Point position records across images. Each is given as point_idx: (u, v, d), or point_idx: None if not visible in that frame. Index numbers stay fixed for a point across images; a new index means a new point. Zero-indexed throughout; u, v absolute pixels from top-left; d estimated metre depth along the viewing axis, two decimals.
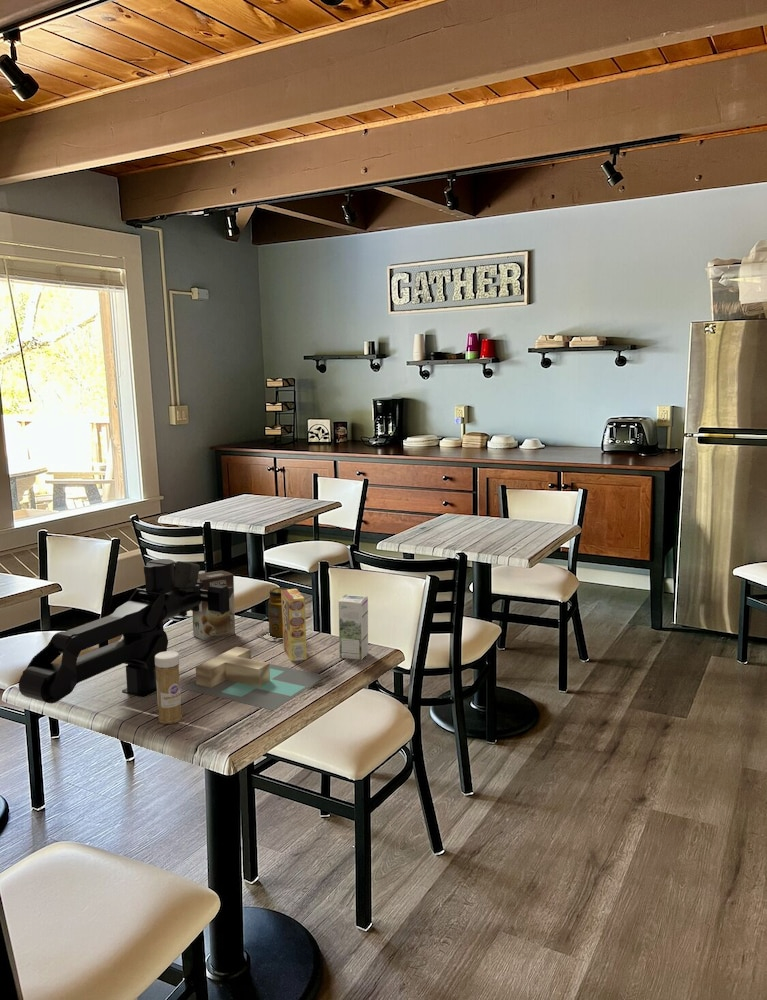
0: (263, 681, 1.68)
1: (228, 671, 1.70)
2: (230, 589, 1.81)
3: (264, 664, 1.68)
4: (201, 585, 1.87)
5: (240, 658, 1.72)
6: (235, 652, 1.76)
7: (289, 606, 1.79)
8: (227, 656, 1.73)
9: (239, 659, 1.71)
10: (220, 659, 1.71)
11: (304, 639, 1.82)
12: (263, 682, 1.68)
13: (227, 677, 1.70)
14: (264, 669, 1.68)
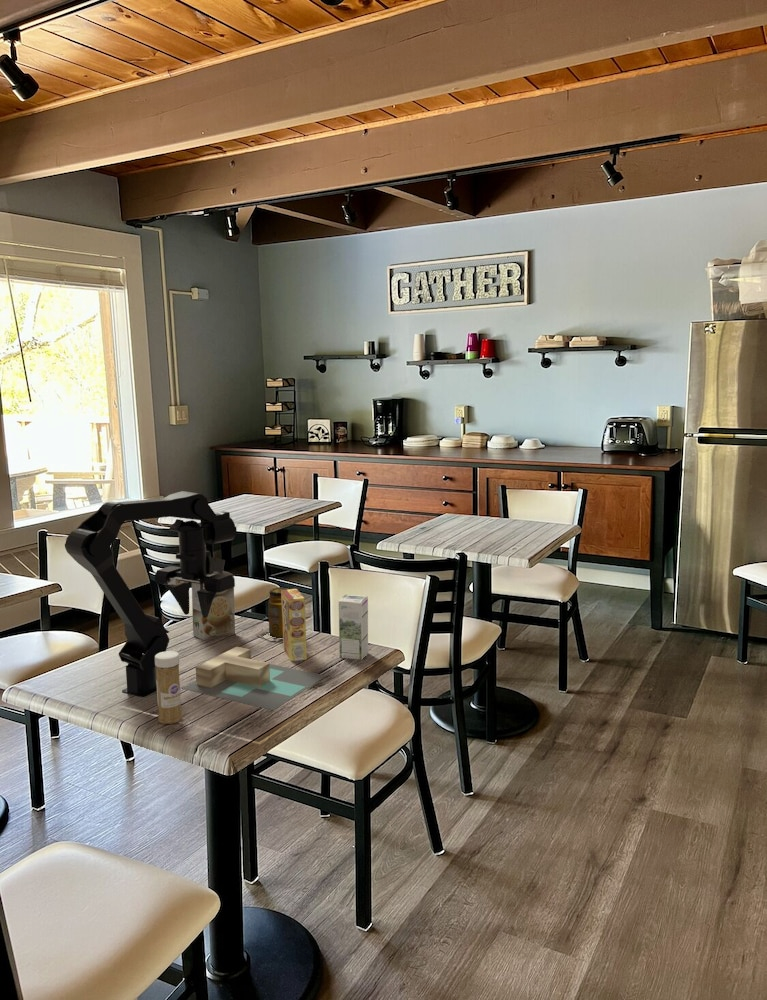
0: (263, 681, 1.68)
1: (228, 671, 1.70)
2: (209, 609, 1.73)
3: (264, 664, 1.68)
4: (187, 611, 1.76)
5: (240, 658, 1.72)
6: (235, 652, 1.76)
7: (289, 606, 1.79)
8: (227, 656, 1.73)
9: (239, 659, 1.71)
10: (220, 659, 1.71)
11: (304, 639, 1.82)
12: (263, 682, 1.68)
13: (227, 677, 1.70)
14: (264, 669, 1.68)
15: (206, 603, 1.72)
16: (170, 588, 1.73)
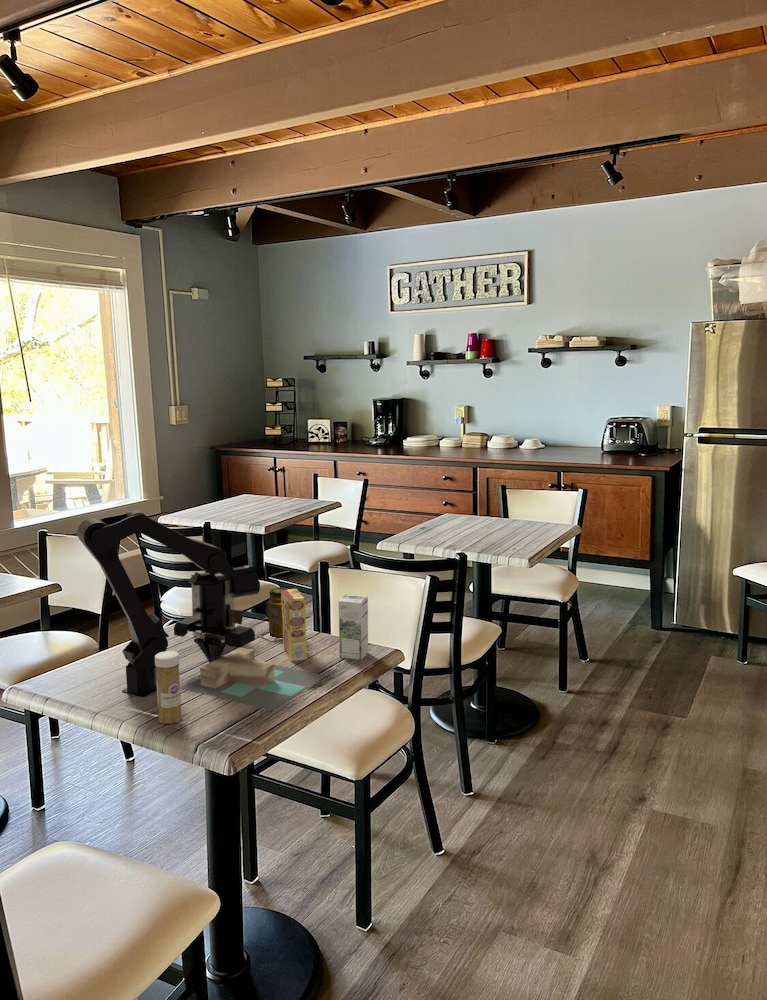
0: (268, 682, 1.67)
1: (233, 672, 1.69)
2: None
3: (269, 665, 1.68)
4: None
5: (244, 659, 1.72)
6: (239, 652, 1.76)
7: (289, 606, 1.79)
8: (231, 657, 1.73)
9: (244, 660, 1.71)
10: (225, 660, 1.71)
11: (304, 639, 1.82)
12: (268, 683, 1.67)
13: (231, 678, 1.70)
14: (268, 670, 1.67)
15: (217, 654, 1.72)
16: (198, 643, 1.72)
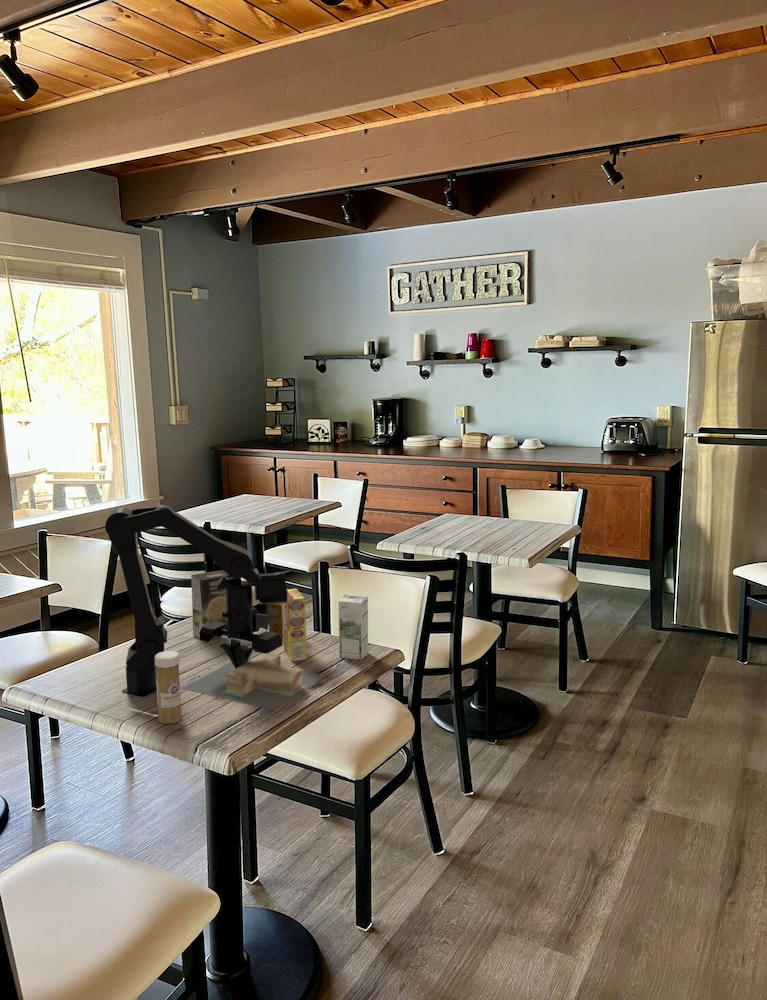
0: (295, 688, 1.64)
1: (259, 678, 1.66)
2: None
3: (297, 671, 1.64)
4: None
5: (271, 665, 1.68)
6: (265, 658, 1.72)
7: (289, 606, 1.79)
8: (257, 663, 1.69)
9: (270, 666, 1.67)
10: (251, 666, 1.67)
11: (304, 639, 1.82)
12: (295, 689, 1.64)
13: (258, 684, 1.66)
14: (296, 676, 1.64)
15: (243, 660, 1.69)
16: (225, 648, 1.68)
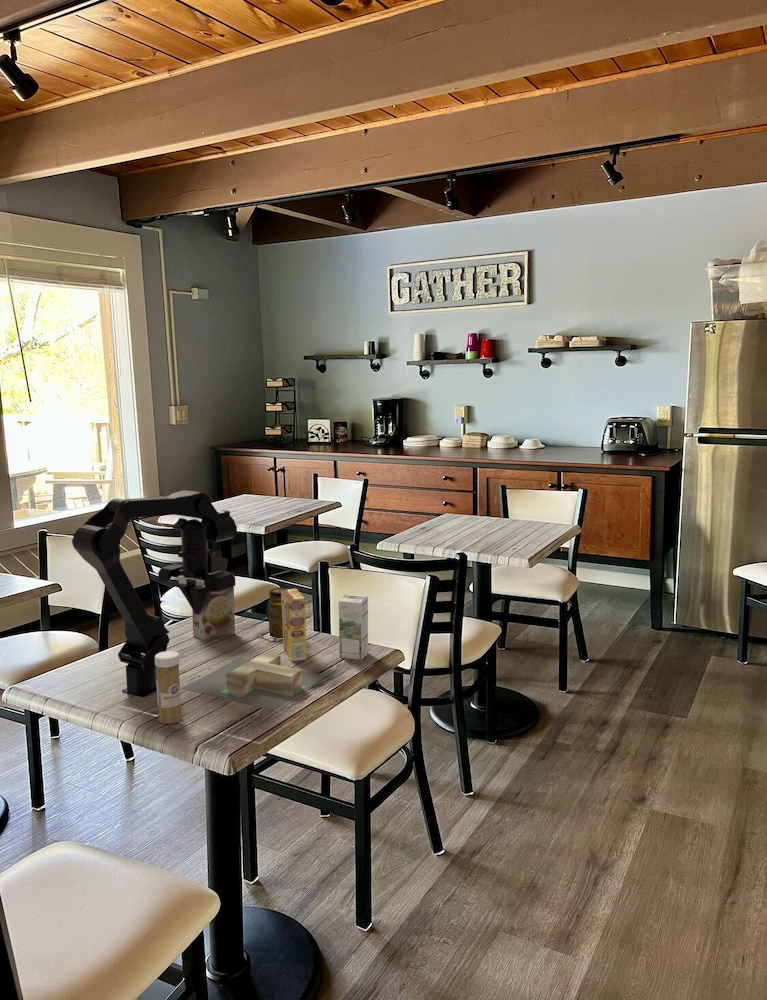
0: (295, 688, 1.64)
1: (259, 678, 1.66)
2: (202, 605, 1.76)
3: (297, 671, 1.64)
4: None
5: (271, 665, 1.68)
6: (265, 658, 1.72)
7: (289, 606, 1.79)
8: (257, 663, 1.69)
9: (270, 666, 1.67)
10: (251, 666, 1.67)
11: (304, 639, 1.82)
12: (295, 689, 1.64)
13: (258, 684, 1.66)
14: (296, 676, 1.64)
15: (199, 600, 1.74)
16: (181, 587, 1.74)
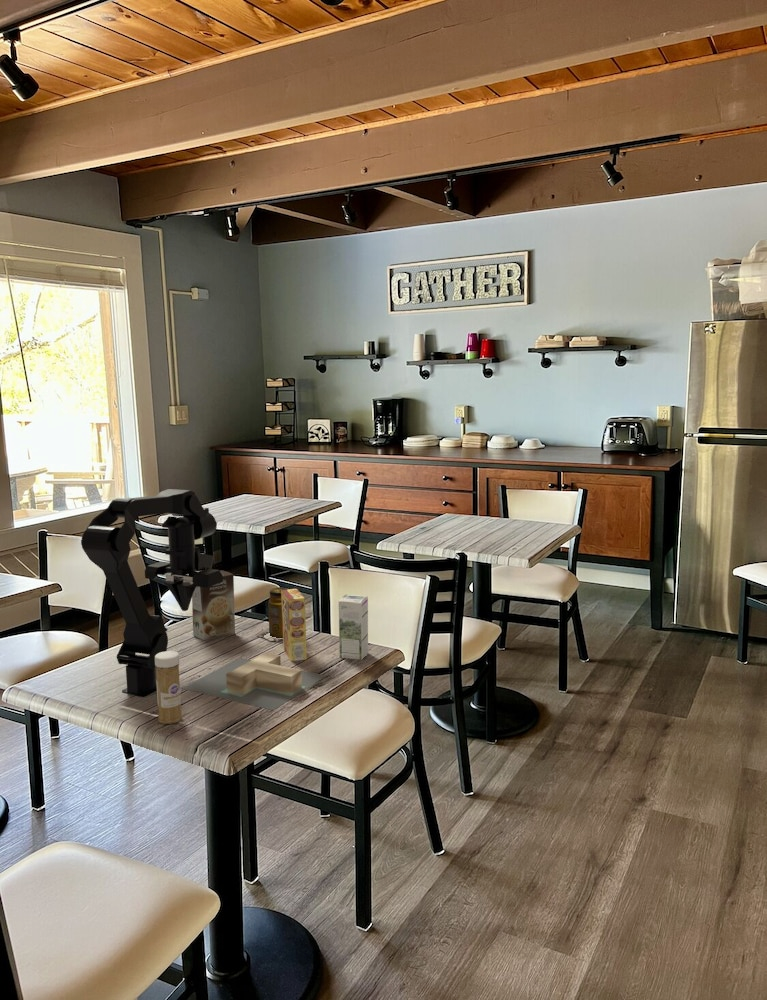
0: (295, 688, 1.64)
1: (259, 678, 1.66)
2: (189, 602, 1.78)
3: (297, 671, 1.64)
4: None
5: (271, 665, 1.68)
6: (265, 658, 1.72)
7: (289, 606, 1.79)
8: (257, 663, 1.69)
9: (270, 666, 1.67)
10: (251, 666, 1.67)
11: (304, 639, 1.82)
12: (295, 689, 1.64)
13: (258, 684, 1.66)
14: (296, 676, 1.64)
15: (186, 596, 1.77)
16: (168, 584, 1.76)
